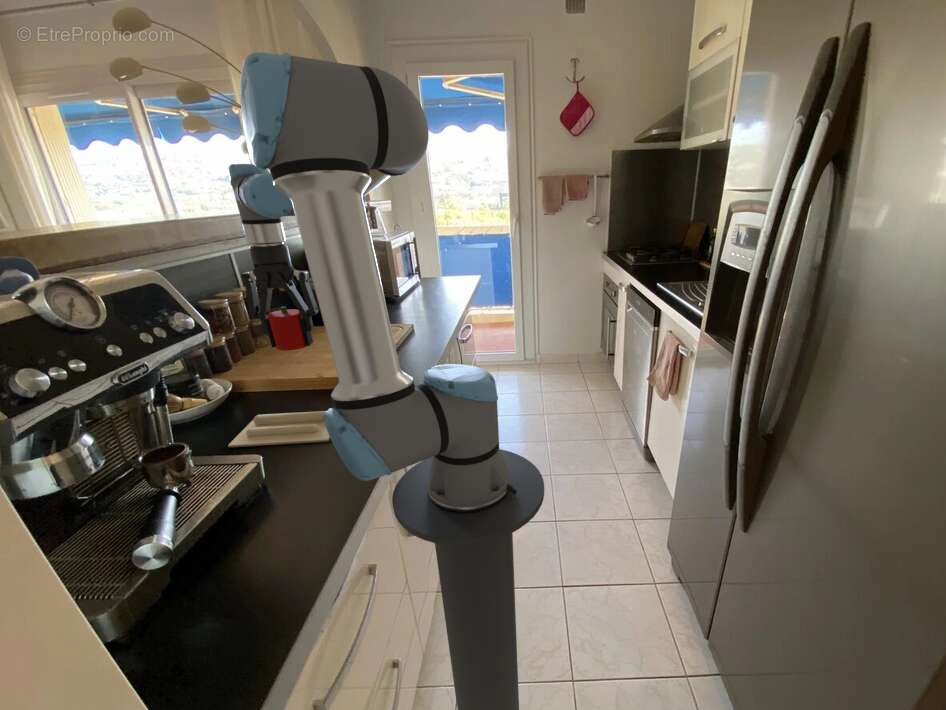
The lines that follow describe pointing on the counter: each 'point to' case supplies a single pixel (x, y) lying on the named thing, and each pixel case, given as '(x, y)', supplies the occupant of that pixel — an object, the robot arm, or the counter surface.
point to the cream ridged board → (283, 429)
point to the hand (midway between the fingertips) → (292, 344)
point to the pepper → (287, 329)
